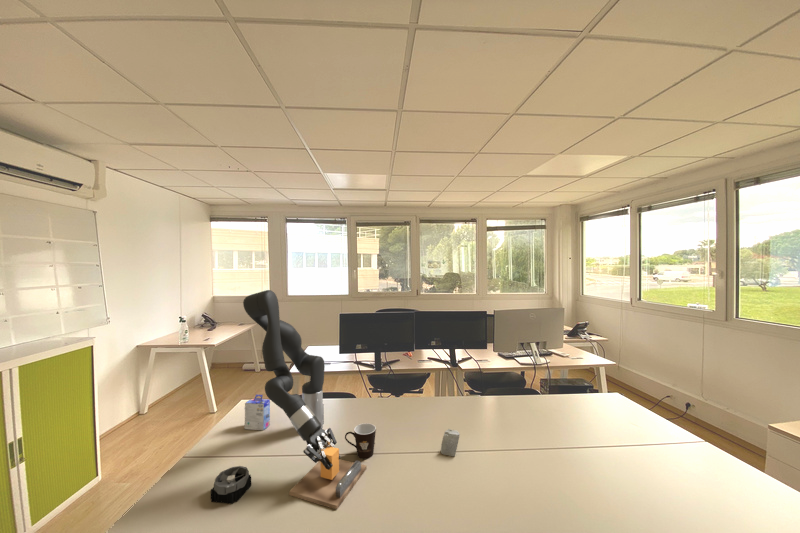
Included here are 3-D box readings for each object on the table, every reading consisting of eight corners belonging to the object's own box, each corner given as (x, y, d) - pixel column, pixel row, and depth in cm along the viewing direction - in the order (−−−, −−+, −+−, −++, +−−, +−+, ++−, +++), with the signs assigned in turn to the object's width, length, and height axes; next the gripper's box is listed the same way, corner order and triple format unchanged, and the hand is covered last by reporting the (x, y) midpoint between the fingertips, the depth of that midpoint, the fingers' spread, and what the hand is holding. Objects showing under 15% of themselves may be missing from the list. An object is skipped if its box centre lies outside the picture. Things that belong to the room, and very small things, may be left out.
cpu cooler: (228, 464, 105) (255, 466, 104) (228, 480, 105) (255, 483, 104) (205, 485, 95) (235, 488, 93) (205, 503, 95) (235, 506, 93)
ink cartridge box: (270, 424, 143) (270, 394, 143) (264, 430, 138) (263, 399, 138) (251, 423, 144) (251, 393, 145) (244, 429, 139) (244, 398, 139)
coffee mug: (380, 450, 121) (379, 425, 121) (369, 463, 113) (368, 436, 113) (355, 444, 126) (355, 420, 126) (343, 455, 118) (343, 429, 118)
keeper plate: (324, 458, 116) (324, 445, 116) (366, 468, 110) (366, 454, 110) (289, 495, 98) (289, 479, 98) (336, 509, 91) (336, 492, 91)
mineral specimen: (463, 455, 116) (459, 435, 116) (441, 458, 118) (437, 438, 118) (463, 444, 123) (459, 425, 123) (442, 446, 125) (438, 427, 125)
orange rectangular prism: (328, 468, 107) (328, 446, 107) (339, 471, 105) (338, 448, 105) (320, 476, 103) (320, 453, 103) (331, 480, 101) (331, 456, 101)
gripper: (298, 425, 100) (329, 470, 96) (323, 407, 113) (351, 445, 109) (285, 438, 102) (315, 483, 97) (311, 419, 115) (339, 457, 111)
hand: (334, 463), depth 103 cm, fingers closed on orange rectangular prism, 4 cm apart
